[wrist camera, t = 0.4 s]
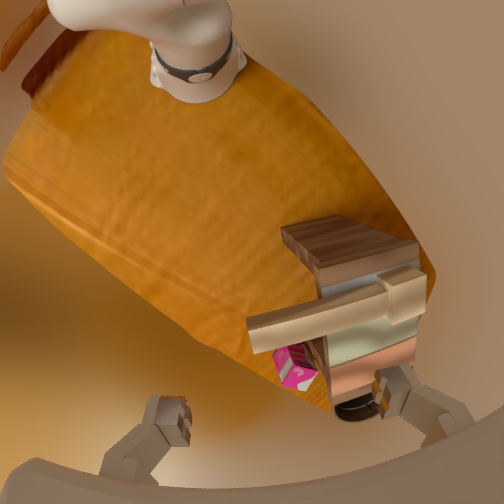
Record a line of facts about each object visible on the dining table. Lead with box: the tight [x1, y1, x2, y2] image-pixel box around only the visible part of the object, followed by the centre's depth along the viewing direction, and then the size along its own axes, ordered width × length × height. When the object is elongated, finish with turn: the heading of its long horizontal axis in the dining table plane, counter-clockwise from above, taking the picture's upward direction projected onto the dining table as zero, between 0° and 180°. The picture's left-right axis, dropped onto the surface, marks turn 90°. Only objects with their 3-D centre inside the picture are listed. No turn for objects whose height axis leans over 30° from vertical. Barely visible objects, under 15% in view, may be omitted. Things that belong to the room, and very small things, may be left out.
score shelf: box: [280, 215, 420, 406], centre depth 47 cm, size 22×14×26 cm, turn 12°
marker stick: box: [246, 265, 427, 354], centre depth 31 cm, size 5×21×4 cm, turn 102°
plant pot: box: [326, 381, 380, 423], centre depth 59 cm, size 16×16×16 cm
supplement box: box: [273, 343, 318, 391], centre depth 58 cm, size 6×6×12 cm
